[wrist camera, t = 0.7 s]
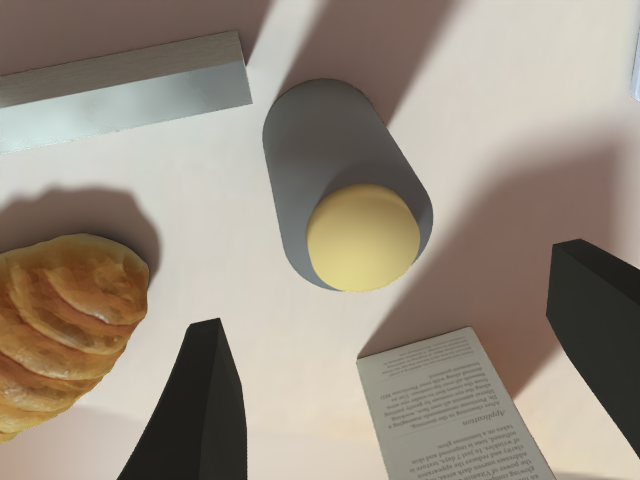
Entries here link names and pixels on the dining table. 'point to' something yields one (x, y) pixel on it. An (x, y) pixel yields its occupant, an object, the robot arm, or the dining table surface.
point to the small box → (447, 413)
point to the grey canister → (342, 189)
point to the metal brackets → (122, 91)
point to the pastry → (63, 323)
